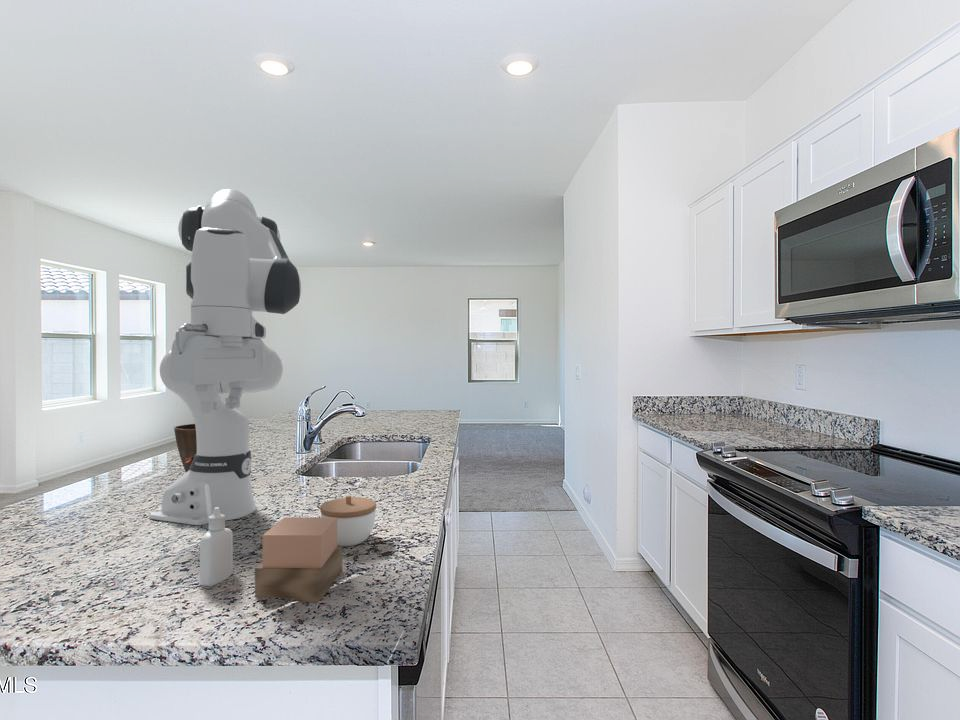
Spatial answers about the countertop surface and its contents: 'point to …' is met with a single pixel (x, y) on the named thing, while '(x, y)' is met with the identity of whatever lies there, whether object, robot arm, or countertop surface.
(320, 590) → the walnut base block
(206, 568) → the eye dropper bottle
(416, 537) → the countertop surface
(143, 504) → the countertop surface
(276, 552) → the terracotta top block
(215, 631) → the countertop surface
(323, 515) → the lidded jar
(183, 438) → the plant pot
